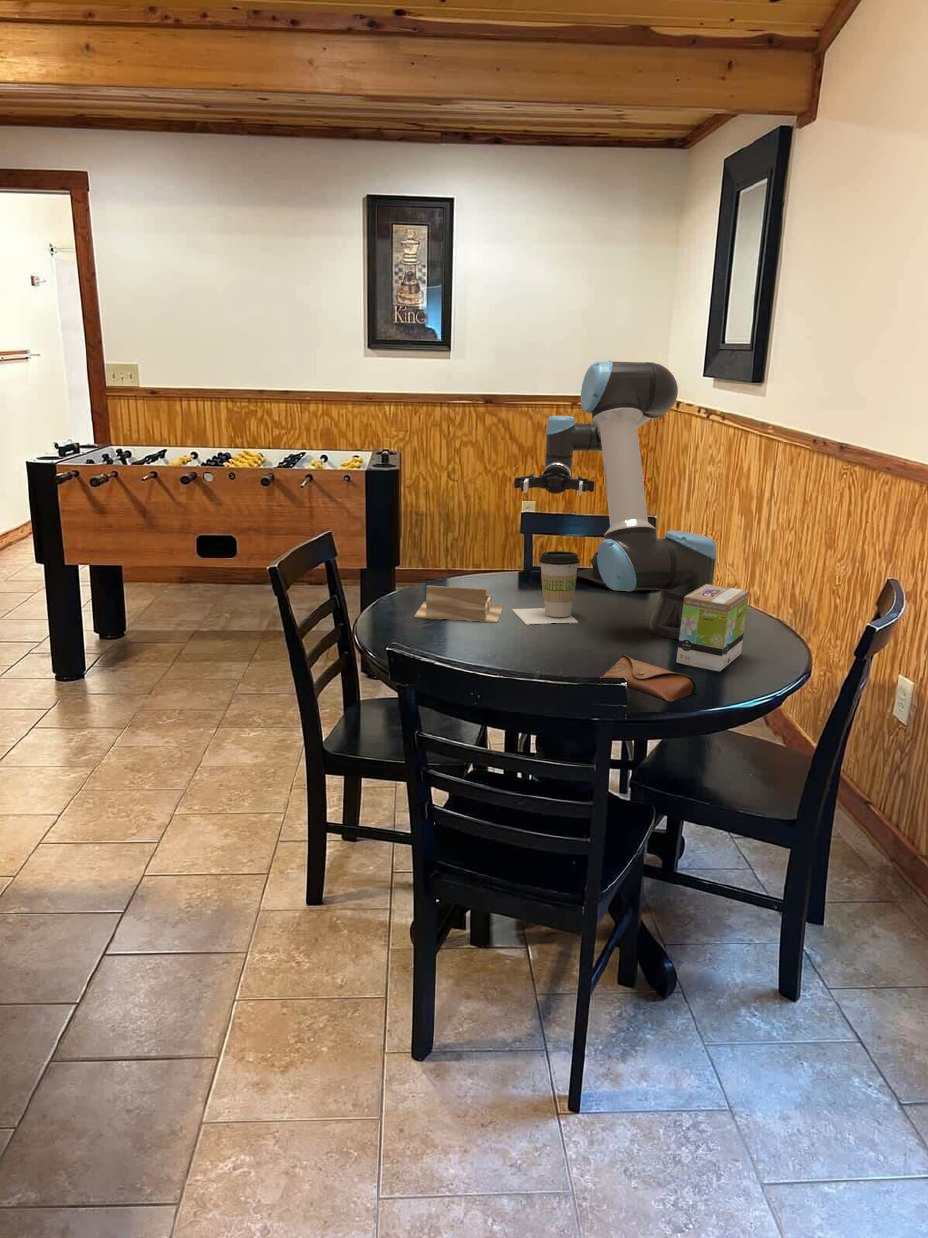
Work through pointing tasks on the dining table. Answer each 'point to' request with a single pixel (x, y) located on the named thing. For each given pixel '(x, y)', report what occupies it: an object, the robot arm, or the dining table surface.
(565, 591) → the coffee cup
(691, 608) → the tea box
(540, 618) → the mat
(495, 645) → the dining table surface
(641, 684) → the sunglasses case
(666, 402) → the robot arm
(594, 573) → the black brimmed hat
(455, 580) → the dining table surface
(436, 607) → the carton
